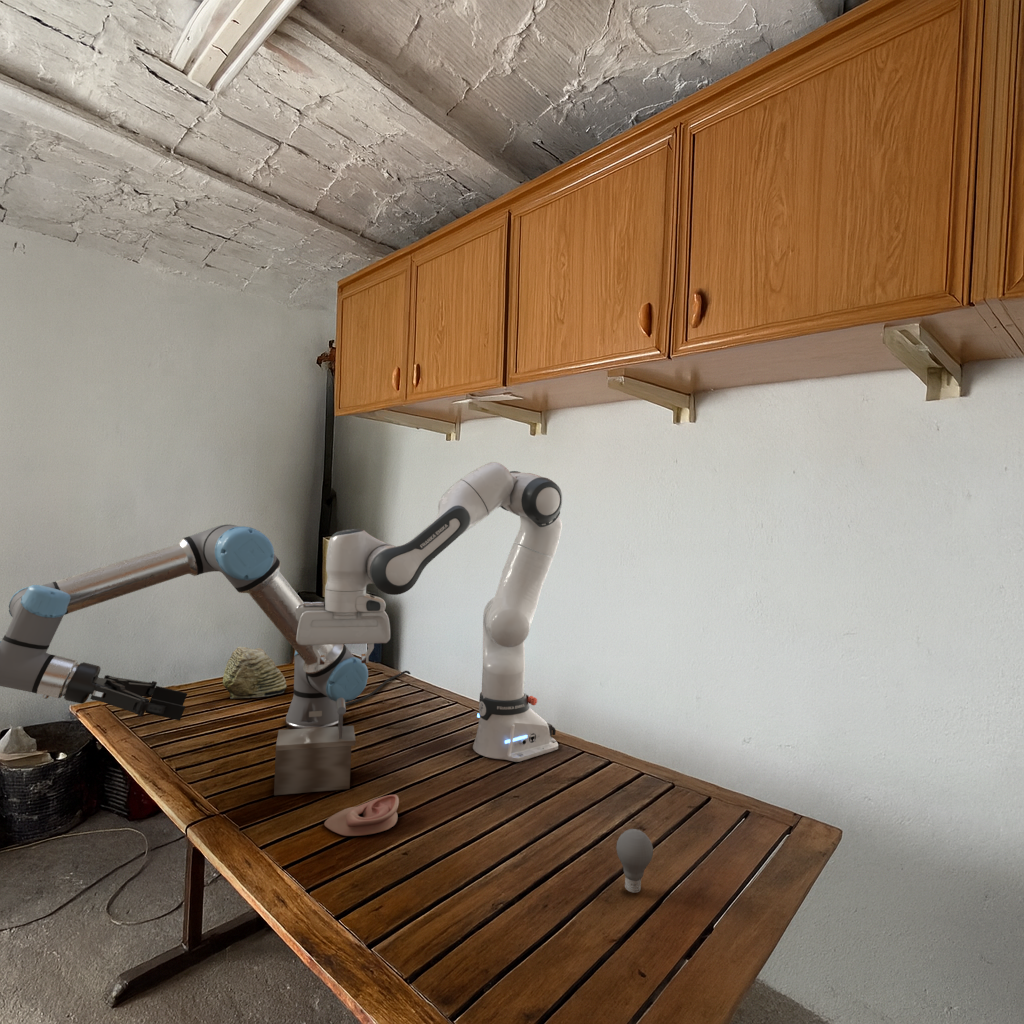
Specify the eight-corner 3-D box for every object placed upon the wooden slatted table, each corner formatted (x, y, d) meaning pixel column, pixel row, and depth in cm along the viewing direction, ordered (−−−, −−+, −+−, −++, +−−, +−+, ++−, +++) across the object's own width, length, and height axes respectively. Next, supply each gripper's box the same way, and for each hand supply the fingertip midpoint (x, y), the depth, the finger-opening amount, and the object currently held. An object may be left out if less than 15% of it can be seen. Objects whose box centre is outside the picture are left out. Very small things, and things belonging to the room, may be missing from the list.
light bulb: (610, 879, 108) (613, 822, 108) (644, 879, 109) (647, 822, 109) (619, 902, 102) (622, 840, 102) (655, 901, 103) (658, 840, 103)
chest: (347, 771, 147) (349, 730, 146) (349, 789, 138) (351, 746, 138) (276, 776, 142) (278, 735, 142) (273, 795, 133) (275, 751, 133)
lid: (353, 730, 147) (354, 695, 147) (355, 745, 138) (356, 707, 138) (278, 734, 142) (279, 698, 142) (275, 750, 133) (277, 712, 133)
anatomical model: (316, 810, 120) (344, 784, 131) (316, 831, 120) (344, 803, 131) (382, 821, 117) (405, 793, 128) (381, 842, 117) (404, 812, 128)
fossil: (218, 695, 195) (220, 647, 195) (278, 685, 208) (279, 640, 207) (228, 703, 189) (230, 653, 188) (289, 692, 201) (290, 645, 201)
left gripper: (74, 687, 136) (179, 711, 144) (48, 712, 113) (173, 739, 121) (90, 653, 137) (192, 678, 145) (67, 671, 115) (189, 700, 123)
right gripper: (295, 604, 135) (293, 668, 135) (392, 603, 141) (390, 665, 141) (296, 599, 141) (294, 661, 141) (389, 599, 147) (387, 658, 147)
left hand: (184, 706), depth 133 cm, fingers open, 13 cm apart
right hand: (343, 663), depth 141 cm, fingers open, 8 cm apart
